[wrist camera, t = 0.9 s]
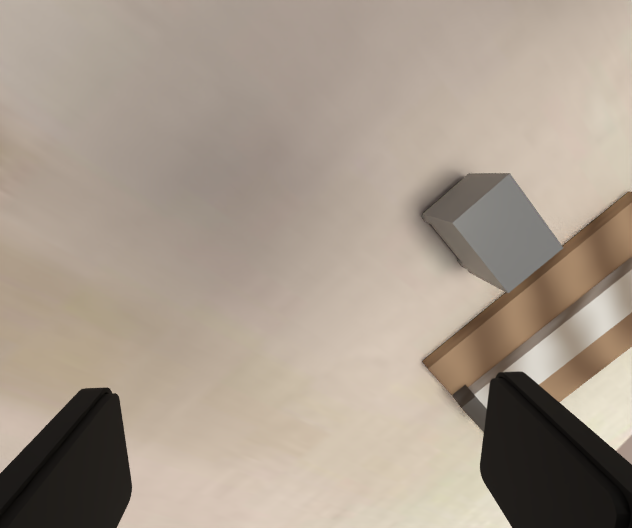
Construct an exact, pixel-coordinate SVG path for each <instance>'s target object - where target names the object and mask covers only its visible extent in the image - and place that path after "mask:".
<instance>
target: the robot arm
mask: <svg viewBox="0 0 632 528" xmlns="http://www.w3.org/2000/svg"><path fill="white" fill-rule="evenodd" d="M480 472H481V476H482V479H483V481H484V483H485V484H486V486H487V488H488V489H489V491H490V492H491V494H492V496H493V497H494V499H495V500H496V502H497V504H498V505H499V507H500V509H501V510H502V512H503V513H504V515H505V517H506V518H507V520H508V521H509V523H510V525H511V526H512V528H632V465H631V464H630V463H629V462H628V461H627V460H625V459H624V458H623V457H622V456H621V455H620V454H618V453H617V452H616V451H615V450H614V449H613V448H612V447H610V446H609V445H608V444H607V443H606V442H605V441H604V440H602V439H601V438H600V437H599V436H598V435H597V434H595V433H594V432H593V431H592V430H591V429H590V428H588V427H587V426H586V425H585V424H584V423H583V422H581V421H580V420H579V419H578V418H577V417H576V416H574V415H573V414H572V413H571V412H570V411H569V410H567V409H566V408H565V407H564V406H563V405H562V404H561V403H559V402H558V401H557V400H556V399H555V398H554V397H552V396H551V395H550V394H549V393H548V392H547V391H545V390H544V389H543V388H542V387H541V386H540V385H538V384H537V383H536V382H535V381H534V380H533V379H531V378H530V377H529V376H528V375H527V374H526V373H524V372H521V371H517V372H499V373H498V374H497V375H496V378H493V379H491V381H490V385H489V394H488V402H487V411H486V419H485V427H484V436H483V444H482V453H481V461H480ZM131 492H132V482H131V476H130V469H129V462H128V455H127V448H126V441H125V434H124V427H123V421H122V414H121V407H120V400H119V396H118V395H117V394H116V393H115V394H112V391H111V390H110V389H109V388H86V389H82V390H80V391H79V392H78V393H77V394H76V395H75V396H74V397H73V398H72V399H71V400H70V401H69V402H68V403H67V404H66V406H65V407H64V408H63V409H62V410H61V411H60V412H59V413H58V414H57V415H56V416H55V417H54V418H53V419H52V420H51V421H50V422H49V423H48V424H47V425H46V426H45V427H44V429H43V430H42V431H41V432H40V433H39V434H38V435H37V436H36V437H35V438H34V439H33V440H32V441H31V442H30V443H29V444H28V445H27V446H26V447H25V448H24V449H23V450H22V452H21V453H20V454H19V455H18V456H17V457H16V458H15V459H14V460H13V461H12V462H11V463H10V464H9V465H8V466H7V467H6V468H5V469H4V470H3V471H2V472H1V473H0V528H117V526H118V524H119V522H120V520H121V518H122V516H123V514H124V511H125V509H126V507H127V505H128V503H129V501H130V497H131Z"/></svg>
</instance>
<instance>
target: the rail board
mask: <svg viewBox="0 0 632 528" xmlns="http://www.w3.org/2000/svg"><path fill="white" fill-rule="evenodd" d="M562 247H563V249H562V250H561V251H559V252H558V253H557V254H556V255H554V256H553V257H552V258H551V259H550V260H548V261H547V262H546V263H545V264H543V265H542V266H541V267H540V268H539V269H537V270H536V271H535V272H534V273H532V274H531V275H530V276H529V277H528V278H526V279H525V280H524V281H523V282H522V283H520V284H519V285H518V286H517V287H515V288H514V289H513V290H512V291H511V292H509V293H507V292H506V293H505V294H503V295H502V296H501V297H500V298H499V299H497V300H496V301H495V302H494V303H493V304H491V305H490V306H489V307H488V308H486V309H485V310H484V311H483V312H482V313H480V314H479V315H478V316H477V317H475V318H474V319H473V320H472V321H471V322H469V323H468V324H467V325H466V326H464V327H463V328H462V329H461V330H460V331H458V332H457V333H456V334H455V335H454V336H452V337H451V338H450V339H449V340H447V341H446V342H445V343H444V344H443V345H441V346H440V347H439V348H438V349H436V350H435V351H434V352H433V353H432V354H430V355H429V356H428V357H427V358H426V359H424V360H423V363H424V364H425V365H426V367H427V368H428V369H429V371H430V372H431V373H432V374H433V375H434V376H435V377H436V378H437V379H438V380H439V381H440V382H441V384H442V385H443V386H444V387H445V388H446V389H447V390H448V391H449V392H450V393H451V394H452V396H453V397H454V398H455V400H456V401H457V402H458V404H459V405H460V406H461V408H462V409H463V410H464V411H465V412H466V413H467V414H468V415H469V417H470V418H471V419H472V420H473V421H474V422H475V423H476V424H477V425H478V426H479V427H480V428H481V430H482V431H483V432H484V427H485V419H486V411H487V402H488V394H489V385H490V381H491V379H493V378H496V375H497V374H498V373H499V372H517V371H521V372H524V373H526V374H527V375H528V376H529V377H530V378H531V379H533V380H534V381H535V382H536V383H537V384H538V385H540V386H541V387H542V388H543V389H544V390H545V391H547V392H548V393H549V394H550V395H551V396H552V397H554V398H555V399H556V400H557V401H558V402H560V401H562V400H563V399H564V398H566V397H567V396H568V395H569V394H571V393H572V392H573V391H575V390H576V389H577V388H579V387H580V386H581V385H582V384H584V383H585V382H586V381H588V380H589V379H590V378H592V377H593V376H594V375H595V374H597V373H598V372H599V371H601V370H602V369H603V368H605V367H606V366H607V365H608V364H610V363H611V362H612V361H614V360H615V359H616V358H618V357H619V356H620V355H621V354H623V353H624V352H625V351H627V350H628V349H629V348H630V347H632V192H628V193H626V194H625V195H624V196H623V197H622V198H620V199H619V200H618V201H617V202H616V203H614V204H613V205H612V206H611V207H609V208H608V209H607V210H606V211H605V212H603V213H602V214H601V215H600V216H598V217H597V218H596V219H595V220H594V221H592V222H591V223H590V224H589V225H588V226H586V227H585V228H584V229H583V230H581V231H580V232H579V233H578V234H577V235H575V236H574V237H573V238H572V239H570V240H569V241H568V242H567V243H566V244H564V245H563V246H562Z"/></svg>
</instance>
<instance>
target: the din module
mask: <svg viewBox="0 0 632 528" xmlns="http://www.w3.org/2000/svg"><path fill="white" fill-rule="evenodd" d="M421 217H422V218H423V219H424V221H425V222H426V223H429V224H431V225H432V226H433V228H434V229H435V230H436V231H437V233H438V234H439V235H440V236H441V238H442V239H443V240H444V241H445V242H446V244H447V245H448V246H449V247H450V249H451V250H452V251H453V252H454V254H455V255H456V256H457V257H458V260H457V261H458V262H459V264H460V265H461V266H462V267H464V268H466V269H467V270H468V271H469V272H470V273H472V274H473V275H475V276H477V277H479V278H481V279H483V280H484V281H486V282H488V283H490V284H492V285H494V286H496V287H497V288H499V289H501V290H503V291H505V292H507V293H509V292H511V291H512V290H513V289H514V288H515V287H517V286H518V285H519V284H520V283H522V282H523V281H524V280H525V279H526V278H528V277H529V276H530V275H531V274H532V273H534V272H535V271H536V270H537V269H539V268H540V267H541V266H542V265H543V264H545V263H546V262H547V261H548V260H550V259H551V258H552V257H553V256H554V255H556V254H557V253H558V252H559V251H561V250H562V249H563V247H562V245H561V244H560V242H559V241H558V240H557V238H556V237H555V235H554V234H553V233H552V231H551V230H550V229H549V227H548V226H547V224H546V223H545V222H544V220H543V219H542V217H541V216H540V215H539V213H538V212H537V210H536V209H535V208H534V206H533V205H532V204H531V202H530V201H529V199H528V198H527V197H526V195H525V194H524V192H523V191H522V190H521V188H520V187H519V185H518V184H517V183H516V181H515V180H514V179H513V177H512V176H511V174H510V173H481V174H468V175H467V176H465V177H464V178H463V179H462V180H461V181H460V182H459V183H457V184H456V185H455V186H454V187H453V188H452V189H450V190H449V191H448V192H447V193H446V194H445V195H444V196H442V197H441V198H440V199H439V200H438V201H437V202H436V203H434V204H433V205H432V206H431V207H430V208H429V209H428V210H426V211H425V212H424V213H423V215H422V216H421Z"/></svg>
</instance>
